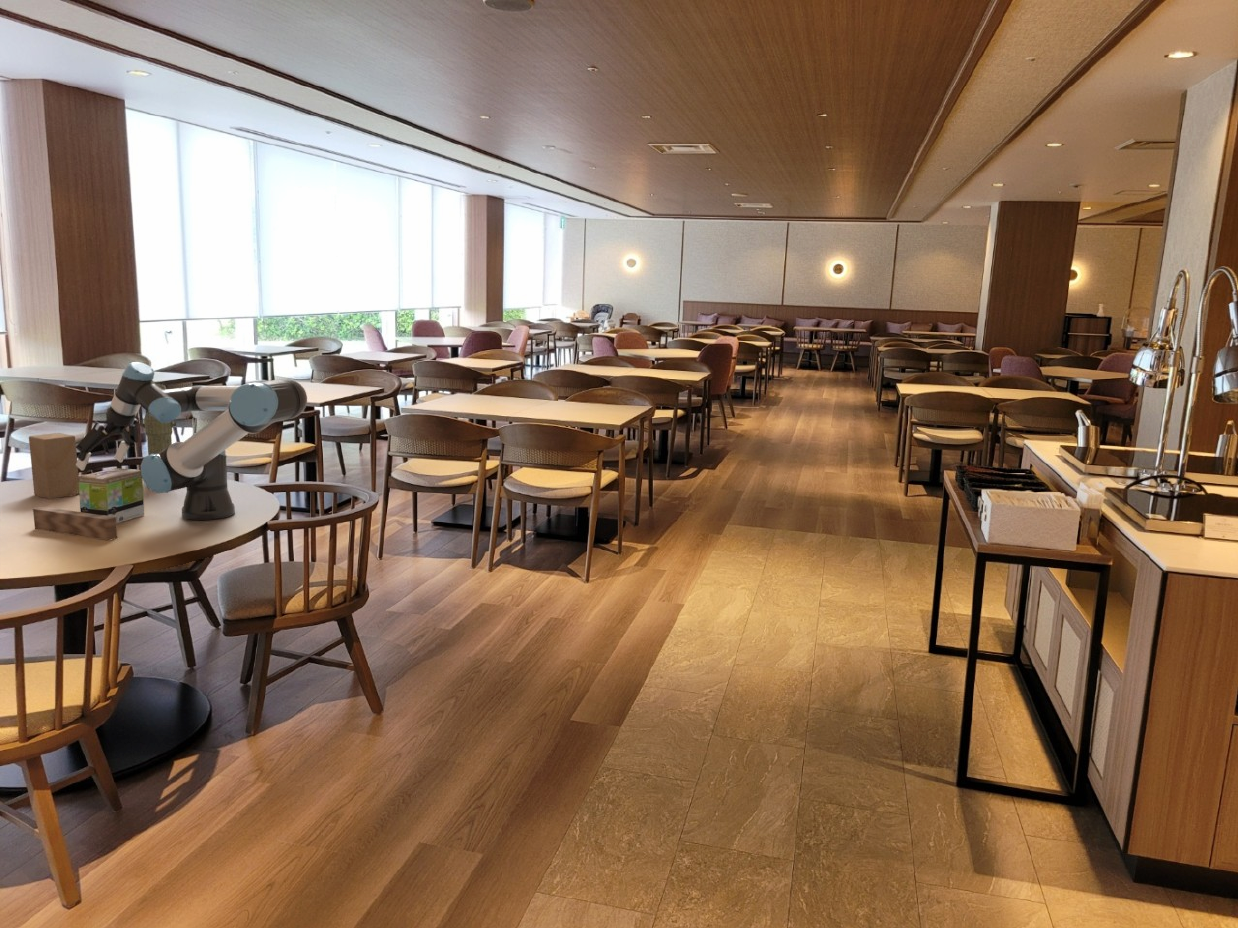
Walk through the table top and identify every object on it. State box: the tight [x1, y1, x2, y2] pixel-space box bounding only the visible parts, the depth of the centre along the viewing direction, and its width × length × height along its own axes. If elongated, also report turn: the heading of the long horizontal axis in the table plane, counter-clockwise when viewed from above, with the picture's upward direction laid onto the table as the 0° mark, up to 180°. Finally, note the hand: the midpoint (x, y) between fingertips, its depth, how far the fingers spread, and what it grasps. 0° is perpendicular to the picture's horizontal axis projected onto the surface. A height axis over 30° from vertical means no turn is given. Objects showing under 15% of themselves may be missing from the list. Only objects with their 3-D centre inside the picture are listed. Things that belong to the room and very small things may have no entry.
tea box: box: [78, 467, 145, 525], centre depth 272 cm, size 15×10×15 cm, turn 168°
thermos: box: [138, 383, 177, 456], centre depth 323 cm, size 9×12×35 cm
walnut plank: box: [32, 506, 118, 541], centre depth 257 cm, size 28×3×6 cm, turn 70°
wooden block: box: [28, 432, 80, 500], centre depth 300 cm, size 10×10×20 cm
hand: (99, 463), depth 276 cm, fingers open, 13 cm apart
